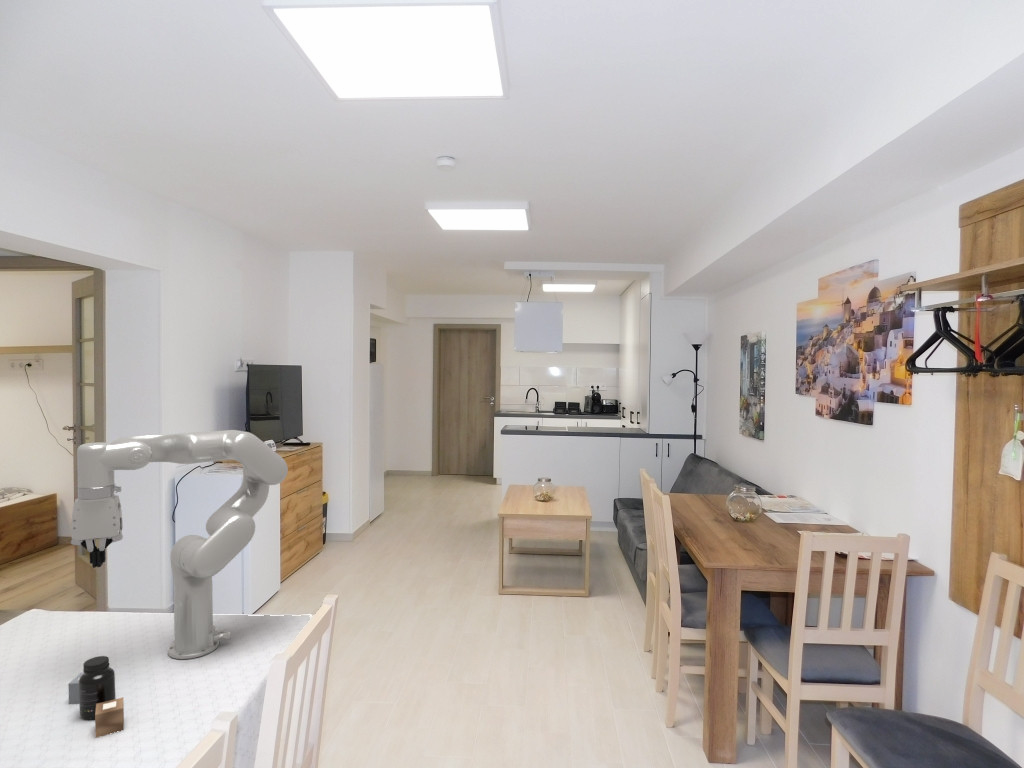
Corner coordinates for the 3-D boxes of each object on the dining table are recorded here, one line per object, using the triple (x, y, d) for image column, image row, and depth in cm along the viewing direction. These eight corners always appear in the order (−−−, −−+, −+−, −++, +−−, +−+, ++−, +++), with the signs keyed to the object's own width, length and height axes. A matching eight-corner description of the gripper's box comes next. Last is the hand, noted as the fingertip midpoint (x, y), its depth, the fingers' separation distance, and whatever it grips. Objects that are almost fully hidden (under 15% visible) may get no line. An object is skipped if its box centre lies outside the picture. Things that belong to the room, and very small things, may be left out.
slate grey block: (103, 691, 147) (103, 670, 146) (91, 703, 142) (91, 681, 141) (81, 693, 146) (80, 672, 146) (68, 704, 141) (68, 683, 141)
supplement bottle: (91, 704, 141) (90, 653, 141) (121, 703, 142) (121, 652, 141) (72, 721, 134) (71, 668, 134) (104, 720, 135) (103, 667, 134)
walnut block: (123, 719, 135) (123, 696, 135) (123, 730, 131) (123, 707, 131) (96, 726, 133) (96, 703, 133) (95, 738, 128) (95, 714, 128)
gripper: (134, 487, 156) (135, 557, 157) (64, 492, 150) (66, 564, 151) (128, 493, 149) (129, 566, 150) (55, 498, 144) (56, 574, 144)
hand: (97, 565), depth 150 cm, fingers closed
